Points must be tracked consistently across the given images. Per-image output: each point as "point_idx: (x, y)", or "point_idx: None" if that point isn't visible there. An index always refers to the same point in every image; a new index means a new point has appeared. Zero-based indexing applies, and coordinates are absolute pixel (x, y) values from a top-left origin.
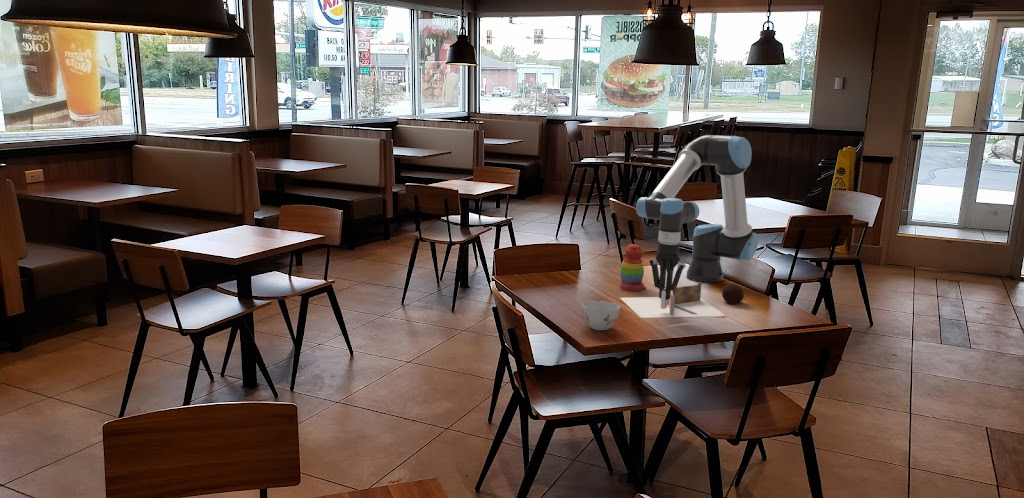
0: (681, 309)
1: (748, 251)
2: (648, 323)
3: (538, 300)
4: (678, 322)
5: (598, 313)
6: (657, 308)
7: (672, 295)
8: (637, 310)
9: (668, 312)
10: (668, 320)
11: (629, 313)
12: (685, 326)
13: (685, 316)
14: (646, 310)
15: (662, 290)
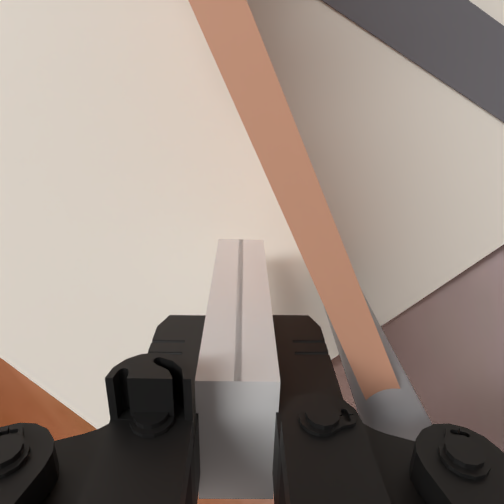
0: (378, 26)
1: None
2: (245, 501)
3: None
4: (428, 384)
5: None
6: (127, 159)
7: (384, 413)
8: (23, 336)
9: (283, 229)
10: (343, 381)
11: (7, 389)
12: (495, 435)
13: (469, 257)
14: (82, 290)
15: (207, 489)
